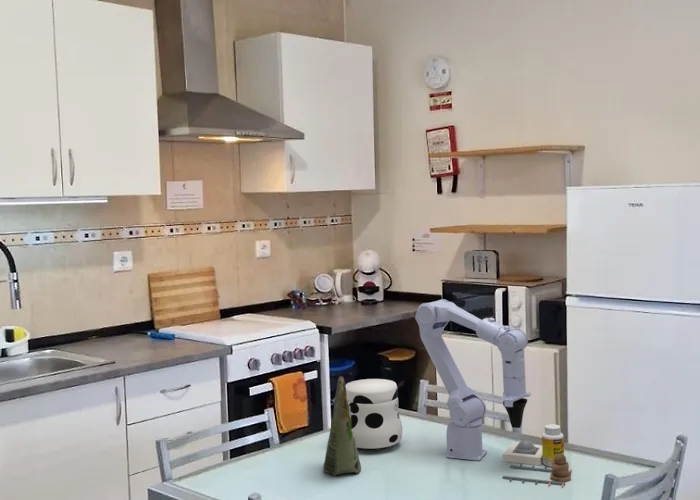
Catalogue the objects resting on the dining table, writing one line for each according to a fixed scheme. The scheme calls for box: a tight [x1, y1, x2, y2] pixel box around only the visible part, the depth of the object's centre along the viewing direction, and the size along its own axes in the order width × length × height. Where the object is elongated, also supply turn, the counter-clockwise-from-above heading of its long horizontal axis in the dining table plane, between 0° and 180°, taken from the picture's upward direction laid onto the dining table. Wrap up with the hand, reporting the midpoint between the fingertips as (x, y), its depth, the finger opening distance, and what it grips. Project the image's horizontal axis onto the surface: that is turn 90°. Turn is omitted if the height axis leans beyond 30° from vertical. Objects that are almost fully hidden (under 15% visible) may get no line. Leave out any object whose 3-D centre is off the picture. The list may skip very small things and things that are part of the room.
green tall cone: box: [322, 375, 362, 476], centre depth 215 cm, size 11×12×25 cm
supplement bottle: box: [541, 423, 565, 468], centre depth 214 cm, size 6×6×10 cm
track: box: [501, 463, 573, 489], centre depth 206 cm, size 16×12×1 cm
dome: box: [516, 439, 536, 455], centre depth 220 cm, size 5×5×5 cm
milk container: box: [345, 378, 403, 452], centre depth 236 cm, size 17×17×18 cm
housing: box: [502, 442, 543, 466], centre depth 220 cm, size 10×10×2 cm
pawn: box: [549, 454, 572, 483], centre depth 203 cm, size 5×5×6 cm
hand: (516, 427), depth 213 cm, fingers closed
